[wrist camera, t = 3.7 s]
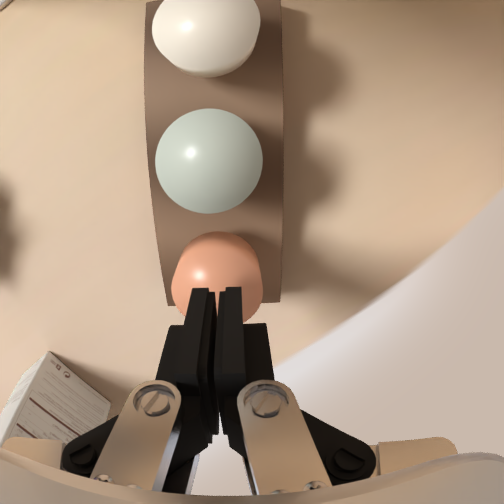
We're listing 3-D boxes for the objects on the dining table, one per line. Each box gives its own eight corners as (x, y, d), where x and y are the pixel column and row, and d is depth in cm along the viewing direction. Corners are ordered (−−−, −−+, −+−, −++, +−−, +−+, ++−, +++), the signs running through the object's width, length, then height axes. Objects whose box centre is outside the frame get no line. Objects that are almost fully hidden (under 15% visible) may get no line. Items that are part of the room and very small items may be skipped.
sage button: (165, 115, 10) (152, 113, 9) (257, 109, 11) (261, 106, 9) (171, 201, 12) (160, 216, 10) (258, 197, 12) (263, 211, 10)
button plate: (154, 12, 10) (146, 2, 9) (275, 4, 11) (279, -6, 9) (172, 291, 17) (167, 305, 15) (276, 287, 17) (280, 302, 16)
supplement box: (76, 418, 23) (45, 519, 11) (21, 372, 20) (-29, 472, 8) (115, 403, 21) (83, 529, 10) (49, 348, 19) (-14, 475, 7)
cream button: (165, 5, 8) (154, -13, 7) (255, -1, 9) (259, -21, 7) (164, 82, 10) (151, 74, 8) (256, 76, 10) (261, 66, 8)
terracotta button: (174, 233, 13) (165, 252, 11) (258, 229, 13) (263, 248, 11) (184, 303, 14) (178, 329, 12) (259, 301, 14) (262, 327, 12)
